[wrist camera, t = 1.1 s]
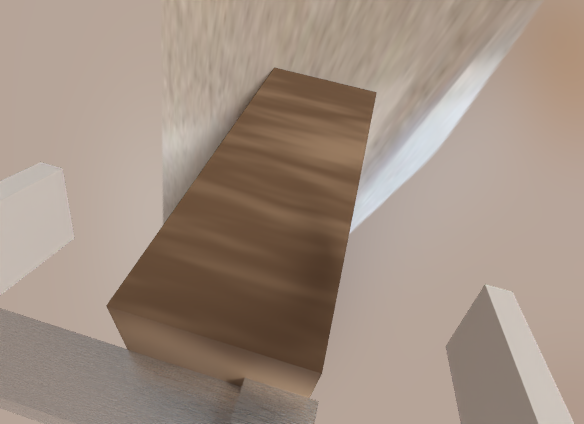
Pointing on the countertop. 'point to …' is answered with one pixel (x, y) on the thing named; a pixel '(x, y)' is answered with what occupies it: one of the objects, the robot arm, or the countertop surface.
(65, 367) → the steel block
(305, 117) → the wooden block
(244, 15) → the countertop surface
